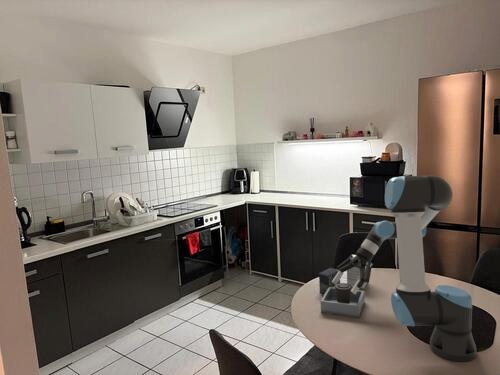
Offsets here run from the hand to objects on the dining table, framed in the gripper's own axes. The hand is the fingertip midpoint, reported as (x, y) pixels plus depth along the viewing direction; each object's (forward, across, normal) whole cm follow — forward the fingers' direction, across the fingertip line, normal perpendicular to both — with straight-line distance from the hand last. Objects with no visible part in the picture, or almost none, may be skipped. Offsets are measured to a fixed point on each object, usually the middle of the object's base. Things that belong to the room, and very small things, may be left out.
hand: (343, 288), depth 178 cm
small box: (+2, +18, -11) cm, 21 cm away
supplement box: (-10, +17, -23) cm, 30 cm away
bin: (+7, 0, -6) cm, 9 cm away
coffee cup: (+6, -1, -6) cm, 8 cm away
